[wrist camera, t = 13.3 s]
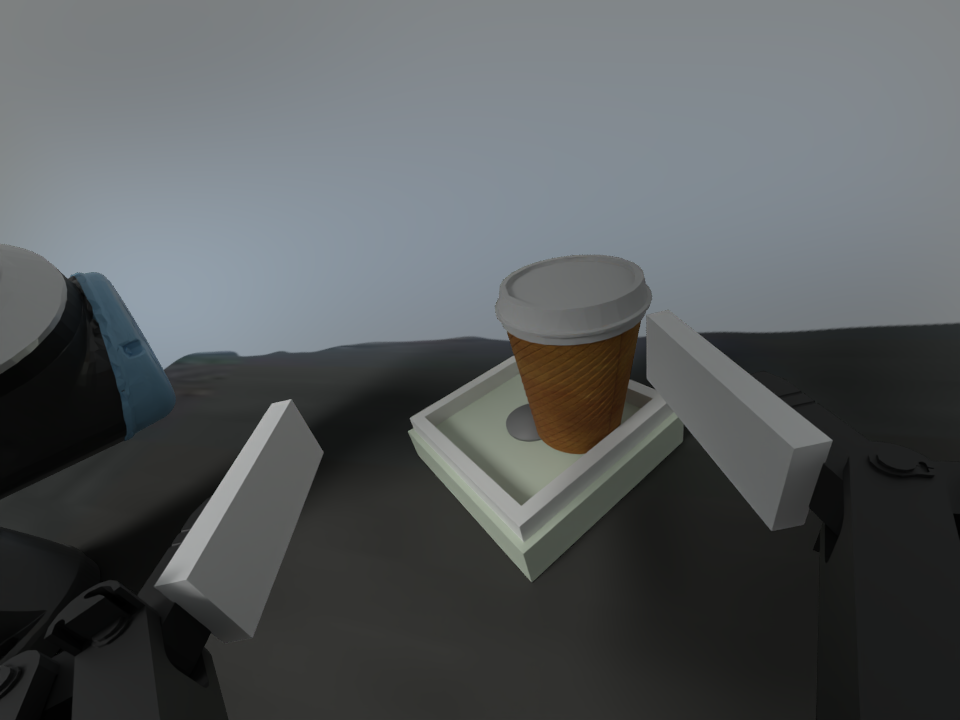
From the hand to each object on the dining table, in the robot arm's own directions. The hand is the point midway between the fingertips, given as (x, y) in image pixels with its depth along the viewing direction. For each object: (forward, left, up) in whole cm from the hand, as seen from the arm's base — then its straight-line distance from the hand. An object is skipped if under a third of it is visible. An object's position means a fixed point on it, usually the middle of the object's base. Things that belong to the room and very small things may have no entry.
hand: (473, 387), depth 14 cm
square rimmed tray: (-10, +9, -16) cm, 21 cm away
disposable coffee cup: (-6, +10, -13) cm, 18 cm away
